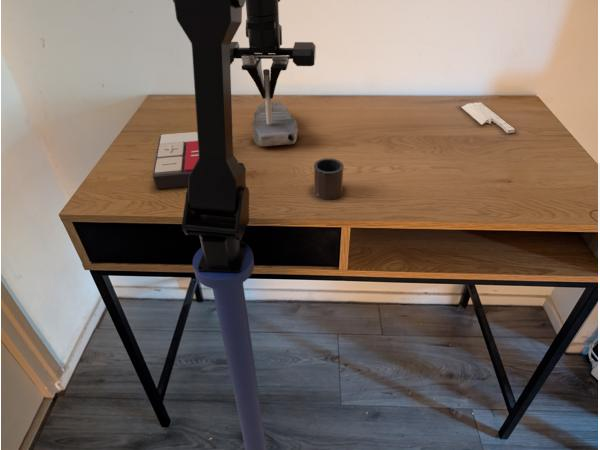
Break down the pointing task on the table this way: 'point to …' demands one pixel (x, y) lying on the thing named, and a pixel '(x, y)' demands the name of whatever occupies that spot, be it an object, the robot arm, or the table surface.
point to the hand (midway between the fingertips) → (268, 97)
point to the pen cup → (328, 178)
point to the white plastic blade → (486, 116)
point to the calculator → (175, 159)
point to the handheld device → (274, 126)
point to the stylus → (267, 96)
